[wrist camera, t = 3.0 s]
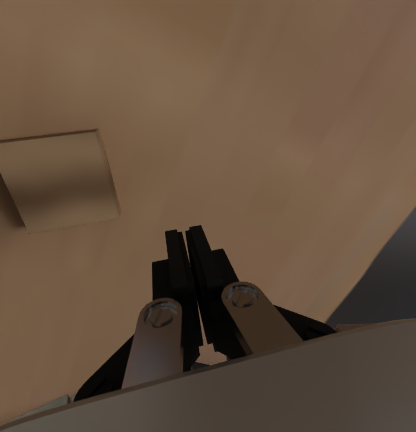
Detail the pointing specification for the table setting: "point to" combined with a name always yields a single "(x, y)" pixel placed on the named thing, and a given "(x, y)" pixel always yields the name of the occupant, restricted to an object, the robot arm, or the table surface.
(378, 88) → the table surface
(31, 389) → the table surface
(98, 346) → the table surface
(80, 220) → the board
